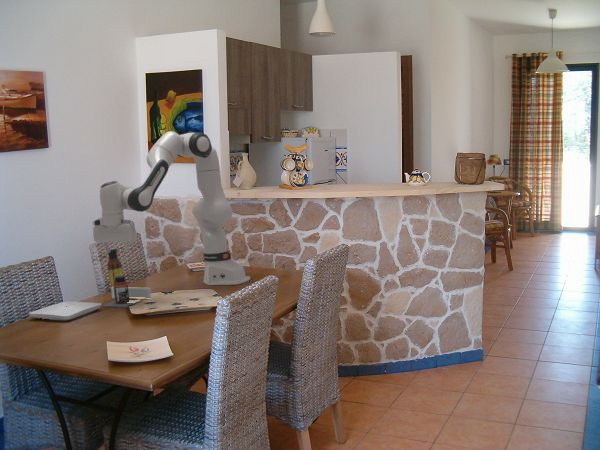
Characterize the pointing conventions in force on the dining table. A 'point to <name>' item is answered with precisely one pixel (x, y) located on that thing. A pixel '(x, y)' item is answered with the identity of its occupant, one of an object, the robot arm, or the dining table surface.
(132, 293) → the acrylic wall
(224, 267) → the robot arm
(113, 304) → the rubber mat
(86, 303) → the salad plate
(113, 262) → the sauce bottle
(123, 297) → the supplement bottle
